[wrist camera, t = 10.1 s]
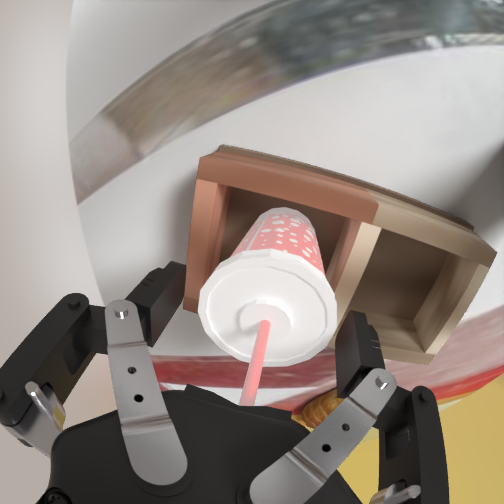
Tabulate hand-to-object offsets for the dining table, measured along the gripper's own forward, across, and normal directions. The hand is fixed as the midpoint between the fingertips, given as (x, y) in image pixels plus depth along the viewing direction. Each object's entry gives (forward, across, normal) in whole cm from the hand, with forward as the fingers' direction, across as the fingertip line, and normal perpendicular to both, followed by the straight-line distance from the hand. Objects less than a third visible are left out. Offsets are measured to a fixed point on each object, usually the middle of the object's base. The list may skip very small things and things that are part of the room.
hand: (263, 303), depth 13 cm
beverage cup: (+8, 0, 0) cm, 8 cm away
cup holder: (+9, -5, 0) cm, 10 cm away
